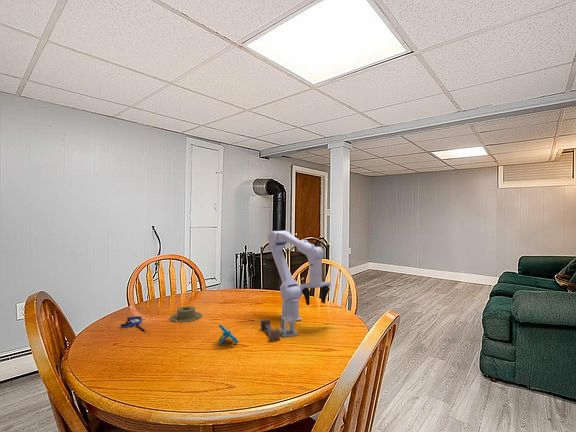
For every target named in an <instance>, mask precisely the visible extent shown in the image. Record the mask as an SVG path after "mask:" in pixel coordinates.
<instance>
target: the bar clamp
mask: <svg viewBox="0 0 576 432" xmlns="http://www.w3.org/2000/svg"><path fill="white" fill-rule="evenodd" d="M126 319H127V320H126V321H128V322H129V321H130V322H129V323H128V322H125V323H121V324H120V328H121V327H122V328H127V327H130V328H132V327H131V326H135V325H136V326H135V327H137V328H138V329H139V330H141V331H142V330H144V331H147V330H145V328H143V327H142V326H140V325H141V324H142V322H143V318H142V316H135V315H134V316H128V317H127V318H126ZM141 321H142V322H141ZM140 323H141V324H140ZM139 324H140V325H139ZM122 328H121V329H122ZM127 329H128V328H127Z"/></svg>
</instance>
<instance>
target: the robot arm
mask: <svg viewBox="0 0 576 432" xmlns="http://www.w3.org/2000/svg"><path fill="white" fill-rule="evenodd" d="M267 242H268V244H269V246H270V252H271V254H272V257H273V260H274V263H275V266H276V268H277V271H278V274H279V277H280V280H281V285H280V286H279V291H280V296H281V299H282V303H281V314H280V315H279V316H280V318H281V317H284V316H293V317H294V318H295V322H296V321H302V320H303V318H302V317H300V300H301V297H302V296H304V300H305V305H307V306H310V304H311V303H310V302H311V301H310V298H311V290H310V289H315V288H316V289H317V288H320V301H321V303H322V304H326V299H327V296H328V294H329V292H330V287H331V282H330V281H323V280H322V279H323V270H322V269H323V261H322V260H323V259H324V258H325V251H324V248H323V247H321V246H315V244H312V243H311V242H308V240H307V239H301V240H300V239H299V238H298V237H295V236H294V235H293V234H291V232H290V231H288V230H271V231H270V232H269V234H268V236H267ZM287 244H291V245H293V246H295V247H296V249H297V251H299V252H300V253H302V254H303V255H305V256H306V258H307V260H308V264H309V265H308V276H309V277H308V282H307V283H300V284H299V282H298V281H297V280H295V279H294V278H293V275H292V273H291V270H290V268H289V265H288V262H287V259H286V257H285V254H284V251H283V249H285V247H286V245H287Z"/></svg>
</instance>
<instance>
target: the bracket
mask: <svg viewBox="0 0 576 432" xmlns="http://www.w3.org/2000/svg"><path fill="white" fill-rule="evenodd" d="M287 323H289V328H288V329H289V330H290V331H291V332H292V333H295V331H296V321H295V318H294V317H293V316H284V317H281V316H280V330H281V332H282V333H283V334H284V335H285V334H286V329H287Z"/></svg>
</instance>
